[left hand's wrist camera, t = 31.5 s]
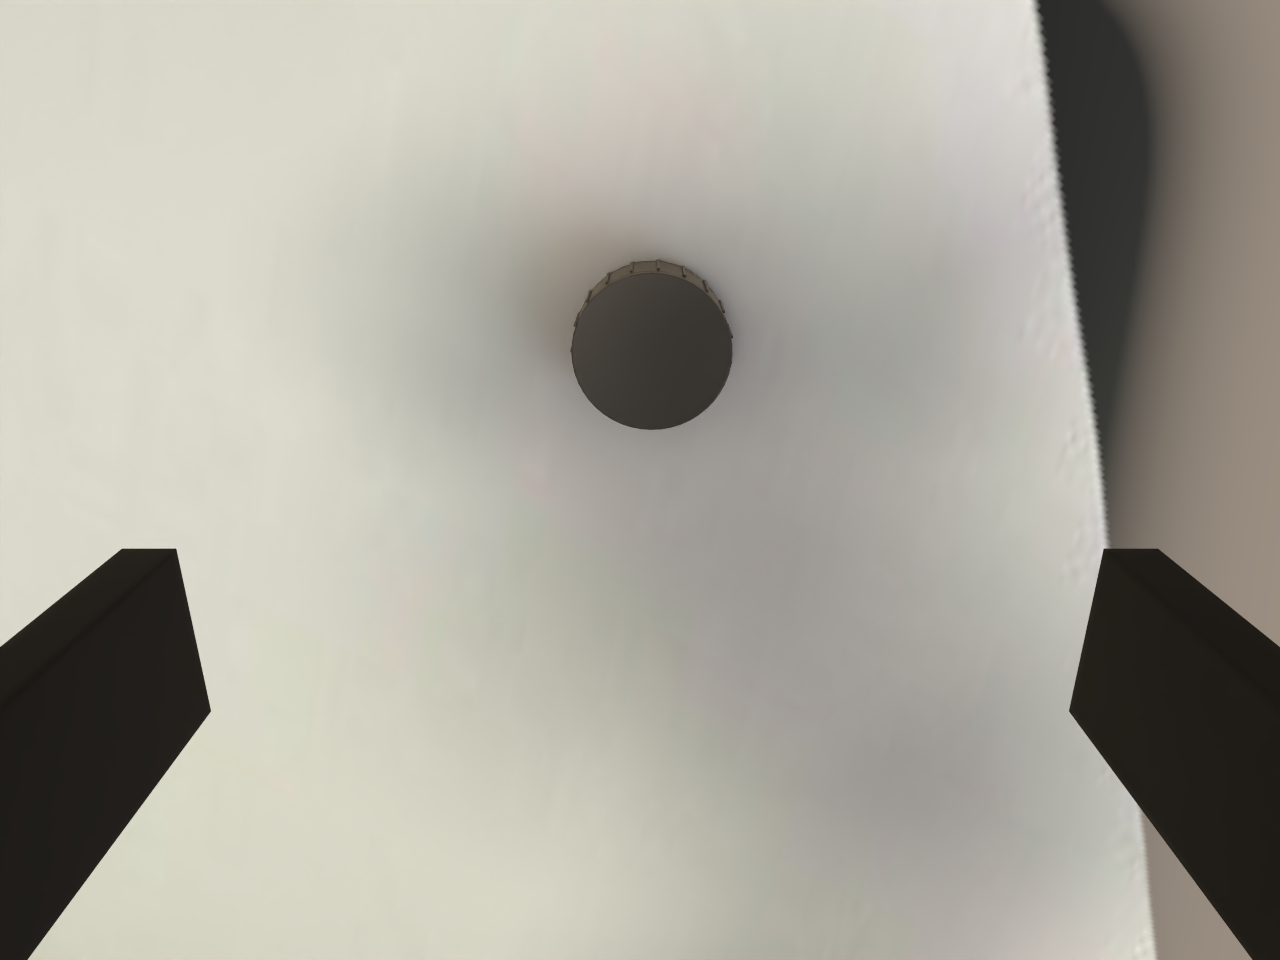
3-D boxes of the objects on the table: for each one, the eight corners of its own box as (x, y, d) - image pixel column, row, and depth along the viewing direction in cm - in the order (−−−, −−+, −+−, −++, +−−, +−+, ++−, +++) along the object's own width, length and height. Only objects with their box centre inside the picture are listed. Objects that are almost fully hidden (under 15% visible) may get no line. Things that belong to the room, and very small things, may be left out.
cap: (556, 281, 27) (549, 295, 25) (709, 241, 26) (714, 251, 24) (598, 424, 28) (594, 447, 26) (742, 389, 28) (749, 409, 26)
